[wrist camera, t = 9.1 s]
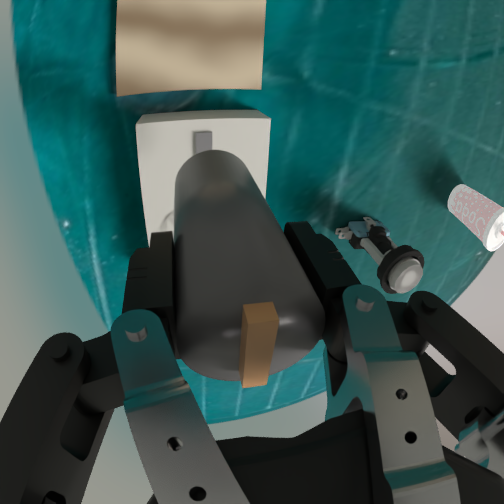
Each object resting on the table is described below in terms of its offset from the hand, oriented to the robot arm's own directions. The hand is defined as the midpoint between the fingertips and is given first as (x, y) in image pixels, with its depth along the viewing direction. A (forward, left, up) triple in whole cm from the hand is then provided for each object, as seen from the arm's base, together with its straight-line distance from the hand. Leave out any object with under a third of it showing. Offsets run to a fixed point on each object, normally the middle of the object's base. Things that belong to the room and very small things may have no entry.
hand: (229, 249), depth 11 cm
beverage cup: (+7, +35, -19) cm, 40 cm away
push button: (+11, +18, -19) cm, 28 cm away
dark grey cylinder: (0, 0, -6) cm, 6 cm away
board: (-10, -1, -18) cm, 21 cm away
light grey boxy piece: (+6, 0, -18) cm, 19 cm away
